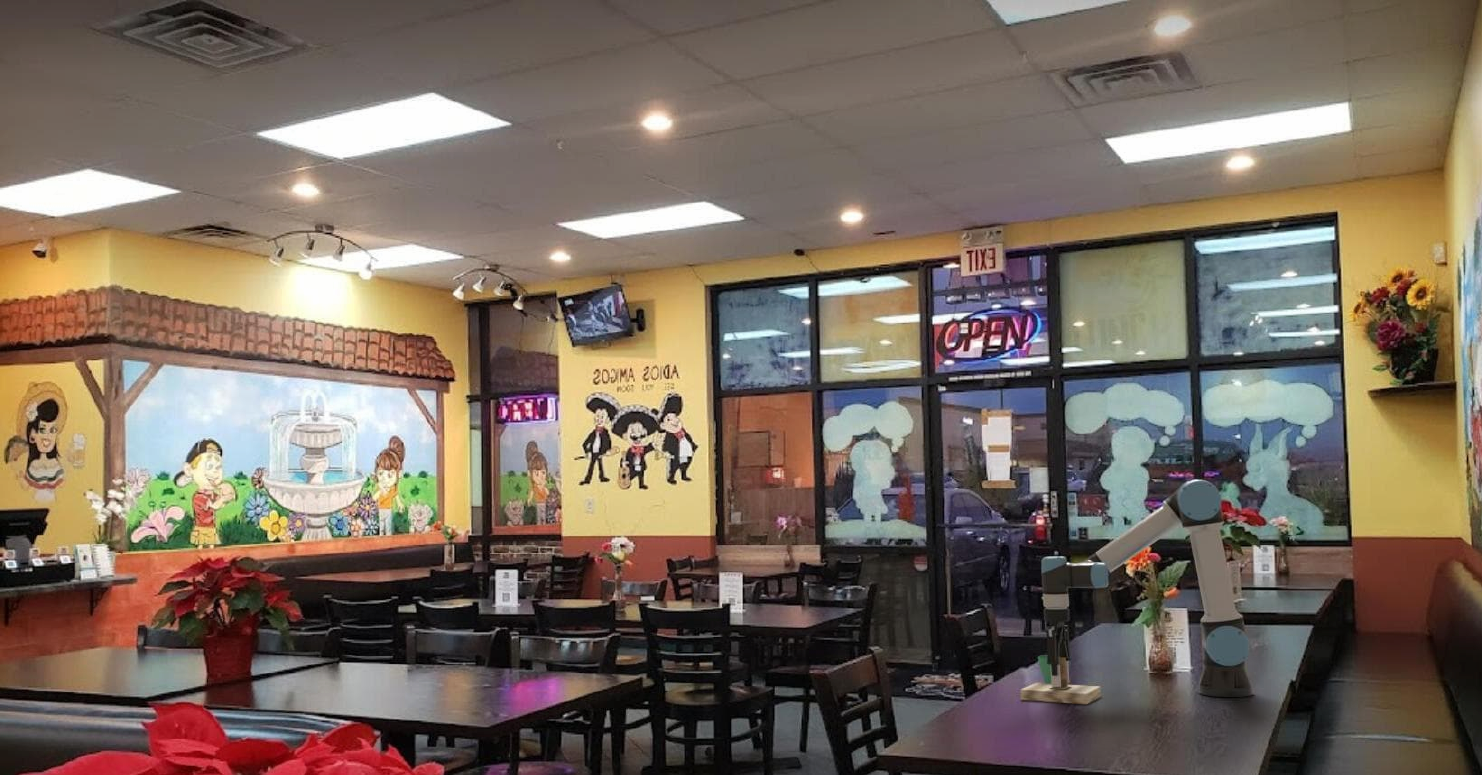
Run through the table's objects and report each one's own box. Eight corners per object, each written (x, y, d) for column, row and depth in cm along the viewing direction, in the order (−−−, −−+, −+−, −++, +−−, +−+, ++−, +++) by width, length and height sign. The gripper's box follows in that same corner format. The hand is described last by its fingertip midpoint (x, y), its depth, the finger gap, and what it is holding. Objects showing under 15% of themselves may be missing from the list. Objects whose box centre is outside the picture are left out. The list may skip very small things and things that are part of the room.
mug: (1066, 692, 372) (1065, 659, 373) (1035, 690, 377) (1034, 658, 378) (1079, 684, 385) (1077, 653, 386) (1049, 683, 390) (1047, 652, 391)
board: (1101, 696, 362) (1100, 686, 363) (1087, 704, 351) (1086, 693, 351) (1036, 692, 373) (1036, 682, 374) (1021, 699, 362) (1020, 689, 362)
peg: (1070, 697, 363) (1067, 657, 364) (1065, 699, 359) (1063, 659, 360) (1056, 696, 365) (1054, 656, 366) (1052, 698, 361) (1049, 658, 362)
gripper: (1054, 604, 375) (1058, 679, 373) (1033, 610, 358) (1037, 688, 356) (1078, 604, 371) (1082, 680, 369) (1057, 611, 354) (1062, 690, 352)
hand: (1060, 684), depth 362 cm, fingers open, 7 cm apart
